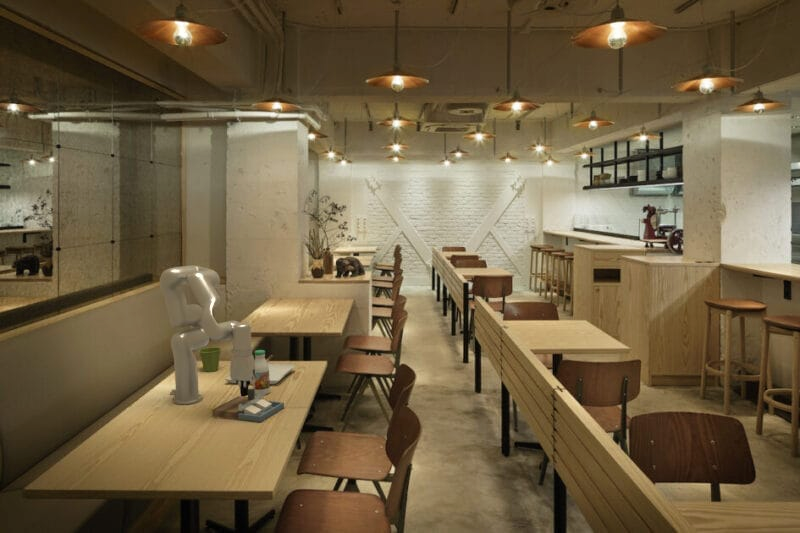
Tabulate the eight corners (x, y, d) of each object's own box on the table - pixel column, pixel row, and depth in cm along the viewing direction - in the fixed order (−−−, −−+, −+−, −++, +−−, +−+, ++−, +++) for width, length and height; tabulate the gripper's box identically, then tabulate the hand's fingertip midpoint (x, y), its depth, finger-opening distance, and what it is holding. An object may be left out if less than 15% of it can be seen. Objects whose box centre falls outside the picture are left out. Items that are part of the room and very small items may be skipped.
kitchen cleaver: (260, 355, 345) (277, 354, 344) (261, 357, 345) (277, 356, 344) (246, 367, 321) (264, 366, 320) (246, 369, 321) (264, 368, 320)
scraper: (238, 410, 242) (237, 395, 241) (260, 398, 257) (259, 383, 256) (242, 411, 241) (241, 395, 241) (264, 399, 256) (263, 384, 256)
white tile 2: (254, 406, 251) (255, 402, 250) (261, 403, 255) (262, 398, 255) (264, 411, 249) (265, 407, 249) (270, 407, 254) (271, 403, 254)
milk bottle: (249, 394, 274) (247, 352, 272) (259, 390, 281) (257, 348, 279) (263, 396, 271) (261, 353, 269) (273, 391, 278) (271, 349, 276)
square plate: (246, 370, 316) (246, 363, 316) (296, 371, 312) (296, 364, 312) (224, 385, 290) (224, 377, 289) (278, 387, 286) (278, 379, 285)
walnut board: (212, 416, 246) (212, 409, 245) (238, 402, 262) (238, 396, 262) (237, 419, 241) (236, 412, 241) (262, 405, 258) (261, 398, 258)
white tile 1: (243, 412, 243) (244, 408, 243) (250, 408, 248) (251, 404, 247) (253, 418, 242) (254, 413, 241) (260, 414, 246) (261, 409, 246)
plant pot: (217, 366, 325) (216, 345, 324) (226, 370, 316) (225, 349, 315) (195, 370, 317) (194, 349, 316) (204, 374, 308) (203, 353, 307)
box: (237, 419, 241) (237, 413, 241) (262, 405, 258) (262, 400, 258) (260, 422, 238) (260, 416, 238) (284, 408, 255) (284, 402, 254)
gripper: (222, 353, 247) (224, 396, 249) (252, 356, 242) (254, 400, 244) (232, 349, 254) (234, 391, 256) (263, 351, 249) (264, 394, 251)
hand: (244, 395), depth 250 cm, fingers closed
